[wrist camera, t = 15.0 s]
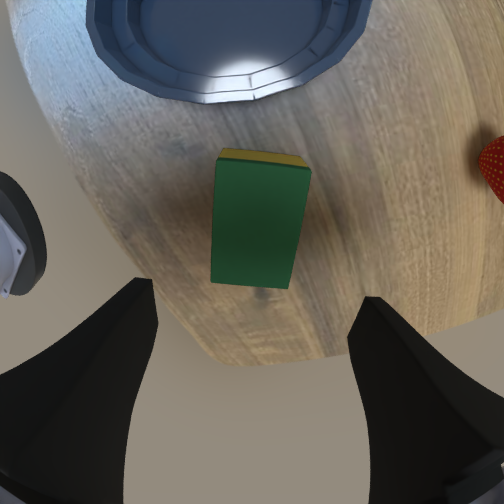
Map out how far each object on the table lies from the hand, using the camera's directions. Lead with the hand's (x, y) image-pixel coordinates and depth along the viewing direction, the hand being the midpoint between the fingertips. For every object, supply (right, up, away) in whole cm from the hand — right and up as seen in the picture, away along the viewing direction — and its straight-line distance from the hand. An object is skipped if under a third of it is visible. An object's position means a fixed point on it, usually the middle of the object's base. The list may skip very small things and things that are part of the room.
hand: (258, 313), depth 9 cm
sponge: (0, +5, +8) cm, 9 cm away
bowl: (-2, +16, +2) cm, 16 cm away
